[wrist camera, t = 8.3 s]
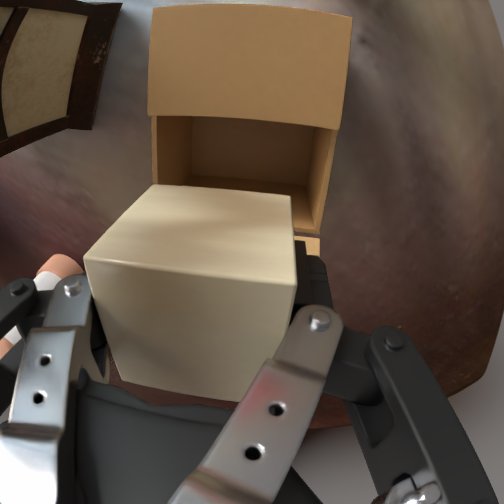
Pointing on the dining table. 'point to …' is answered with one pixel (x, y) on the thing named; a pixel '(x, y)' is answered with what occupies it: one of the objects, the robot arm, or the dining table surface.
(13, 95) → the lantern
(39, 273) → the pepper shaker
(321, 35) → the carton
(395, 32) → the dining table surface
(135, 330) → the block
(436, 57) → the dining table surface
